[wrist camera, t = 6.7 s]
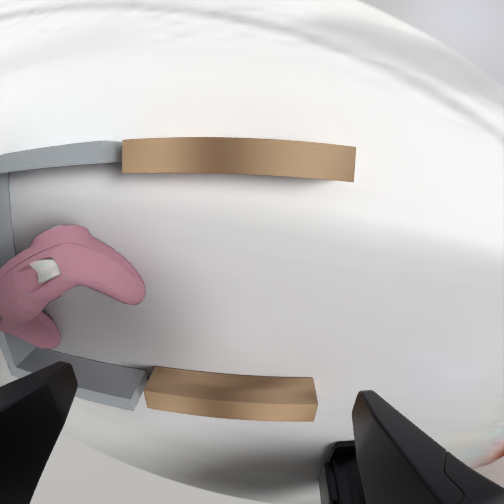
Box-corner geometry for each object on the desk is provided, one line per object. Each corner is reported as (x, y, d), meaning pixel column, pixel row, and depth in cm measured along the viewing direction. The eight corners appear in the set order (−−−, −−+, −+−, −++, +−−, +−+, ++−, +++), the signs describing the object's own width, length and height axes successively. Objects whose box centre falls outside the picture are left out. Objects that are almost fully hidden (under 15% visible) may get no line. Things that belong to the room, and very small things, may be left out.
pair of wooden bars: (342, 148, 15) (355, 147, 12) (309, 394, 19) (313, 421, 16) (142, 141, 15) (122, 139, 12) (158, 383, 19) (147, 407, 17)
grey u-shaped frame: (129, 142, 15) (103, 140, 12) (147, 381, 19) (133, 411, 16) (-1, 158, 15) (-32, 162, 12) (31, 354, 19) (11, 374, 17)
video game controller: (133, 226, 18) (44, 196, 11) (158, 298, 17) (64, 297, 10) (40, 291, 19) (-36, 286, 13) (57, 350, 18) (-22, 359, 12)
